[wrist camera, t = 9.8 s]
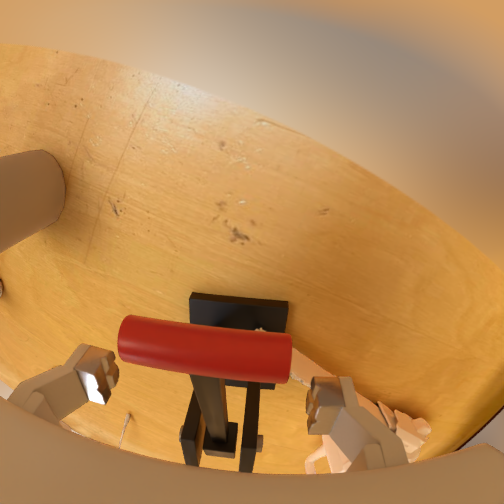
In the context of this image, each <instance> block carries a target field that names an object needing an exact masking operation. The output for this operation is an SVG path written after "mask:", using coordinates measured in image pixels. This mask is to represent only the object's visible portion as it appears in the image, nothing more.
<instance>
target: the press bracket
mask: <svg viewBox="0 0 504 504" xmlns="http://www.w3.org/2000/svg"><path fill="white" fill-rule="evenodd" d="M189 308H190V324H197V325H205V326H213V327H222V328H231V329H241V330H252V331H255V330H256V329H259V330H260V328H261V327H262V330H264V331H266V332H276V333H285V327H286V321H287V315H288V302H287V301H276V300H264V299H253V298H242V297H232V296H222V295H212V294H203V293H194V292H192V294H191V296H190V298H189ZM275 384H276V383H263V382H251V381H240V380H231V379H225V385H226V386H235V387H245V388H247V395H246V405H245V415H244V425H243V434H242V444H241V454H240V464H239V472H246V473H252V471H253V466H254V460H255V455H256V452H262V447H263V435H258V419H259V402H260V389H270V390H274V389H275ZM205 429H206V423H205V420H204V418H203V415H202V412H201V409H200V406H199V403H198V400H197V397H196V394H195V391H194V390H193V394H192V397H191V401H190V404H189V408H188V411H187V415H186V419H185V422H184V425H182V426H181V428H180V433H179V441H180V442H181V445H182V450H183V455H184V459H185V463H186V465H191V466H197V467H199V464H200V459H201V454H202V449H203V442H204V435H205Z"/></svg>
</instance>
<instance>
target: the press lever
mask: <svg viewBox="0 0 504 504" xmlns="http://www.w3.org/2000/svg"><path fill="white" fill-rule="evenodd" d="M117 344H118V353H119V356H120V358H121V359H122V360H123V361H124V362H128V363H132V364H137V365H142V366H147V367H152V368H157V369H162V370H168V371H174V372H180V373H186V374H189V375H190V378H191V381H192V384H193V387H194V391H195V394H196V397H197V400H198V403H199V406H200V409H201V412H202V415H203V418H204V420H205V423H206V429H205V435H204V442H203V450H204V452H205V454H206V455H210V456H217V457H225V458H235V451H236V442H237V433H238V423H234V422H228V415H227V403H226V390H225V379H231V380H240V381H251V382H263V383H278V384H285V383H287V381H288V379H289V375H290V369H291V361H292V338H291V335H290V334H288V333H276V332H263V331H252V330H241V329H231V328H222V327H213V326H205V325H197V324H189V323H182V322H174V321H167V320H161V319H154V318H148V317H142V316H136V315H128V316H126V317H125V318H124V320H123V321H122V323H121V326H120V329H119V333H118V343H117Z"/></svg>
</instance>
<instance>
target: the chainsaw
mask: <svg viewBox="0 0 504 504" xmlns="http://www.w3.org/2000/svg"><path fill="white" fill-rule="evenodd" d="M255 331H263V332H266V331H264V330H262V327H261V328H260V330H259V329H256V330H255ZM290 375H291V376H292V377H291V378H292V379H296V380H298V381H300V382H301V383H302V384H303V385H306V386H307V387H310V388H311V384H310V383H311V380H312V378H313V376H315V377H336V376H335V375H333V376H332V375H331V373H329V372H327V371H325V370H324V369H323V368H321V367H320V366H319V365H317V364H316V363H314V361H313V360H310V359H309V358H308V357H307V356H304V355H302V354H301V353H300V352H299V351H297V350H296V349H295V348H293V347H292V361H291V369H290ZM355 392H356V391H355ZM356 395H357V399H358V403H359V406H360V407H361V406H363V407H364V408H365V409H367V410H368V411H369V412H370V413H371V414H372V415H374V416H375V417H376V418H377V419H378V420H379V421H381V422H382V423H383V424H384V425H385V426H387V427H388V428H389V429H390V430H391V431H392V432H394V433H395V434H396V435H397V436H398V437H400V438H401V439H402V442H403V445H404V448H405V451H406V455H407V458H408V461H409V463H413V462H414V461H415V460H416V459H417V458H418V456H419V453H420V449H421V448H420V446H421V445H422V444H424V443H425V442H426V441H427V440H428V439H429V437H427V438H426V435H428V434H429V433H430V432H431V428H430V426H429V424H428V422H427V421H426V420H424V419H423V418H417V419H413V418H411V417H410V416H408V415H407V414H405V413H401V412H400V411H398V410H397V409H395V410H394V413H395V414H394V413H393V412H392V411H391V410H390V409H389V408H388V407H387V406H386V405H384V404H383V403H381V402H380V401H377V403H378V405H379V407H380V408H379V407H378V406H376V405H375V404H374V403H371V400H368V399H367V398H365V397H363V396H362V395H360V394H359V393H357V392H356ZM322 440H323V445H321V446H320V447H318V448H317V450H316V451H314V452H313V453H311V454H310V455H309V456H308V457H307V459H306V461H305V469H306V474H316V471H315V467H314V462H315V461H316V460H317V459H319V458H320V457H325V456H326V455H327V459H328V462H329V466H330V469H331V473H343V472H346V471H347V469H348V468H349V467H350V465H351V464H352V463H351V462H350V461H349V459H348V458H347V457H346V456H345V454H344V453H343V452H342V451H341V450H340V448H339V447H338V446H337V445H336V444H335V442H334V441H333V440H332V439H331V437H330V436H329V435H322Z"/></svg>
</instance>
